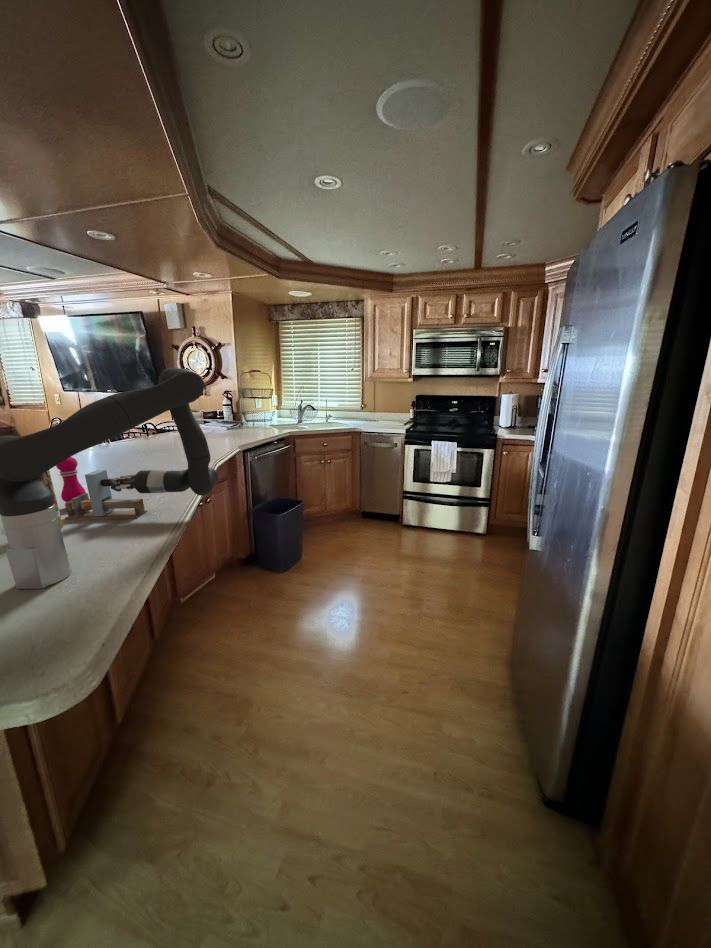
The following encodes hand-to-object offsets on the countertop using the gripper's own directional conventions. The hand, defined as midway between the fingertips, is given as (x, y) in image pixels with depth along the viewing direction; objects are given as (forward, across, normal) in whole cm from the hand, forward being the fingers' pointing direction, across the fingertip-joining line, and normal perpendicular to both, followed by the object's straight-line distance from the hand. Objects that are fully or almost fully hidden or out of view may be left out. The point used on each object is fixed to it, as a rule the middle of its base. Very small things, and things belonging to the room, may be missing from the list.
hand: (102, 482), depth 123 cm
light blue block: (+2, 0, +12) cm, 12 cm away
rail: (+1, 0, +12) cm, 12 cm away
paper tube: (+11, +12, +12) cm, 20 cm away
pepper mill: (+18, -9, +12) cm, 23 cm away
